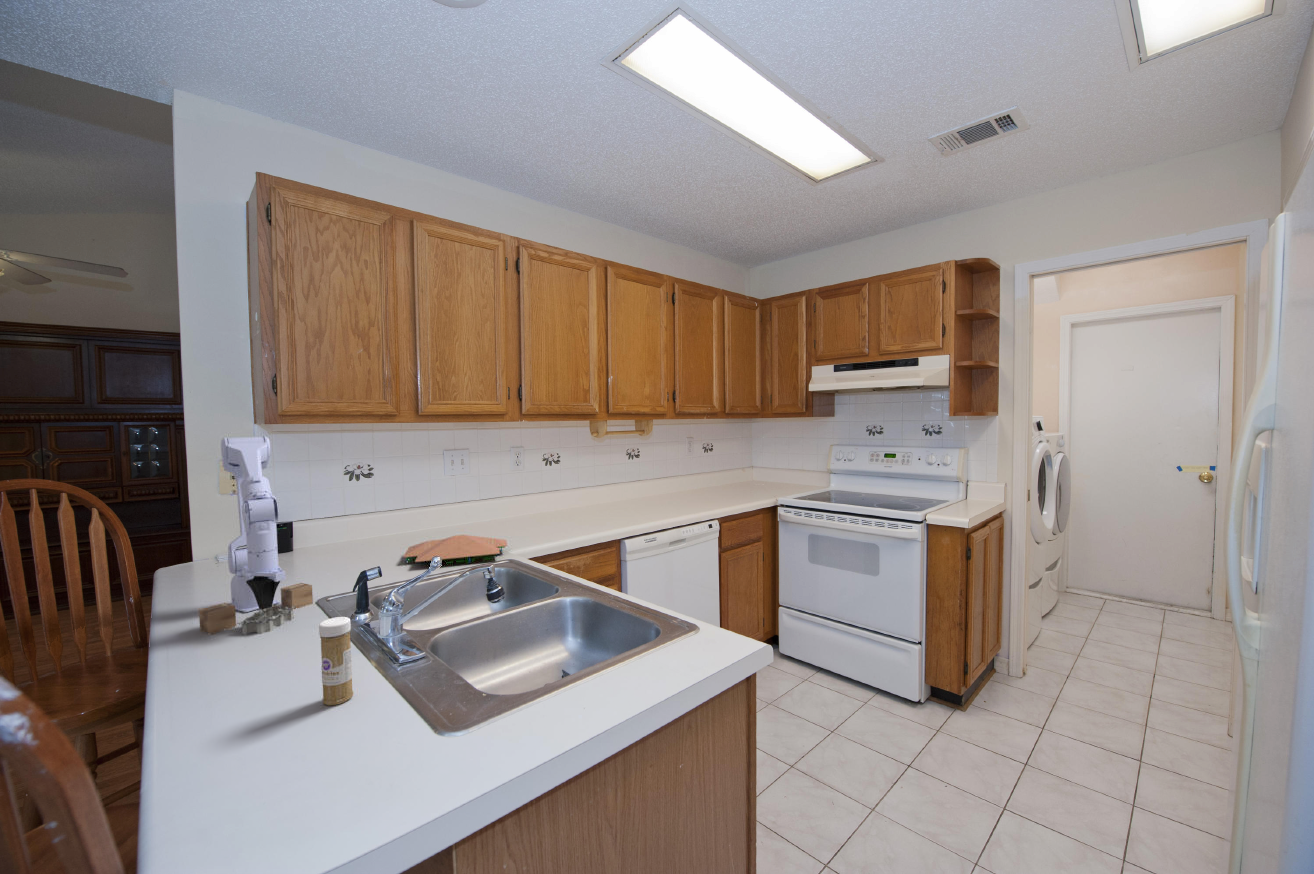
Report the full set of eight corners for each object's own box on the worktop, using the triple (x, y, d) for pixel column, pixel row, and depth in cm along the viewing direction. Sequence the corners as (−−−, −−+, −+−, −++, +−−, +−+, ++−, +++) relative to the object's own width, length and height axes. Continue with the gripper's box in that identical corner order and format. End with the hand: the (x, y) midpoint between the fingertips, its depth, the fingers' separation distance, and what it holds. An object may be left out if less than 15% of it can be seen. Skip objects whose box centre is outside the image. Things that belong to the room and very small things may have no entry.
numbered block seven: (200, 630, 124) (198, 608, 123) (225, 623, 128) (224, 601, 128) (210, 634, 121) (209, 611, 121) (236, 626, 126) (235, 604, 125)
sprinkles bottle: (316, 706, 88) (312, 626, 88) (333, 692, 93) (329, 616, 92) (344, 706, 88) (340, 625, 88) (359, 691, 93) (355, 615, 92)
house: (508, 562, 178) (507, 537, 178) (399, 573, 168) (398, 547, 168) (506, 546, 200) (505, 525, 200) (409, 556, 190) (408, 533, 190)
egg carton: (271, 617, 131) (271, 601, 131) (300, 617, 131) (299, 601, 131) (234, 635, 121) (233, 617, 121) (265, 635, 120) (264, 617, 120)
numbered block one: (281, 607, 138) (280, 587, 138) (302, 601, 143) (301, 581, 143) (292, 610, 136) (291, 589, 136) (312, 603, 140) (311, 584, 140)
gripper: (226, 551, 125) (230, 608, 126) (259, 557, 118) (262, 618, 119) (260, 544, 131) (263, 599, 132) (293, 550, 124) (296, 607, 125)
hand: (265, 607), depth 126 cm, fingers closed
